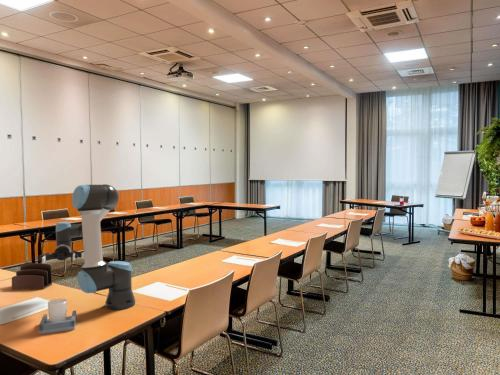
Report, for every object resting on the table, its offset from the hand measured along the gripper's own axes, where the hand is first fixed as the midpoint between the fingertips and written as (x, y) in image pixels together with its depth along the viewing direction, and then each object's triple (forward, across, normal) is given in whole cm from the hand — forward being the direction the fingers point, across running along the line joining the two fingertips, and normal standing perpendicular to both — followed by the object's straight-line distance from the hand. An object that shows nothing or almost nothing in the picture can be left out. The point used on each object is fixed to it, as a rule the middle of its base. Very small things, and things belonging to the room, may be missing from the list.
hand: (58, 259), depth 188 cm
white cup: (+14, 0, -27) cm, 31 cm away
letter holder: (-61, +21, -26) cm, 70 cm away
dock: (+14, -1, -28) cm, 32 cm away
